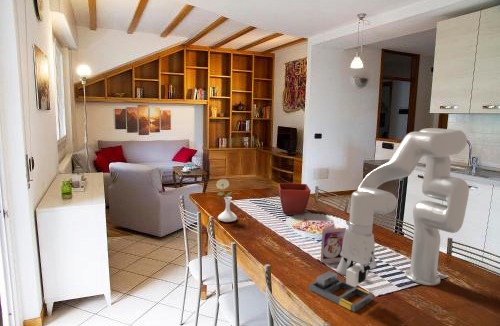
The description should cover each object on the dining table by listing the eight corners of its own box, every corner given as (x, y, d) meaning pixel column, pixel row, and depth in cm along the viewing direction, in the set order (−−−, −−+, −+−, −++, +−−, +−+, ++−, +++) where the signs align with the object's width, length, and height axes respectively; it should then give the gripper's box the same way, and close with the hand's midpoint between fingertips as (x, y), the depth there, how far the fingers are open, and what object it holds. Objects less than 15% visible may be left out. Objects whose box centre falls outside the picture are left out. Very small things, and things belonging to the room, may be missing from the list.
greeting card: (321, 263, 151) (323, 230, 149) (313, 256, 158) (315, 224, 156) (344, 261, 154) (347, 228, 152) (336, 254, 162) (338, 223, 159)
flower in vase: (238, 218, 211) (239, 177, 208) (235, 224, 200) (236, 181, 196) (217, 216, 213) (217, 176, 209) (213, 222, 201) (213, 180, 198)
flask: (340, 266, 149) (342, 244, 147) (356, 271, 144) (358, 248, 143) (332, 272, 143) (334, 249, 142) (349, 278, 139) (351, 254, 137)
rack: (328, 279, 137) (328, 267, 136) (372, 299, 123) (374, 286, 122) (308, 289, 129) (309, 276, 128) (354, 312, 115) (355, 298, 114)
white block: (358, 274, 125) (359, 261, 124) (367, 278, 122) (368, 265, 121) (345, 283, 119) (346, 269, 118) (355, 287, 117) (355, 273, 116)
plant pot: (309, 216, 219) (311, 190, 216) (279, 215, 219) (280, 189, 216) (305, 208, 238) (306, 183, 235) (277, 207, 238) (278, 183, 235)
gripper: (333, 223, 121) (329, 273, 124) (377, 237, 109) (372, 292, 111) (345, 219, 126) (341, 267, 129) (389, 232, 114) (384, 285, 116)
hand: (356, 278), depth 120 cm, fingers closed on white block, 3 cm apart
